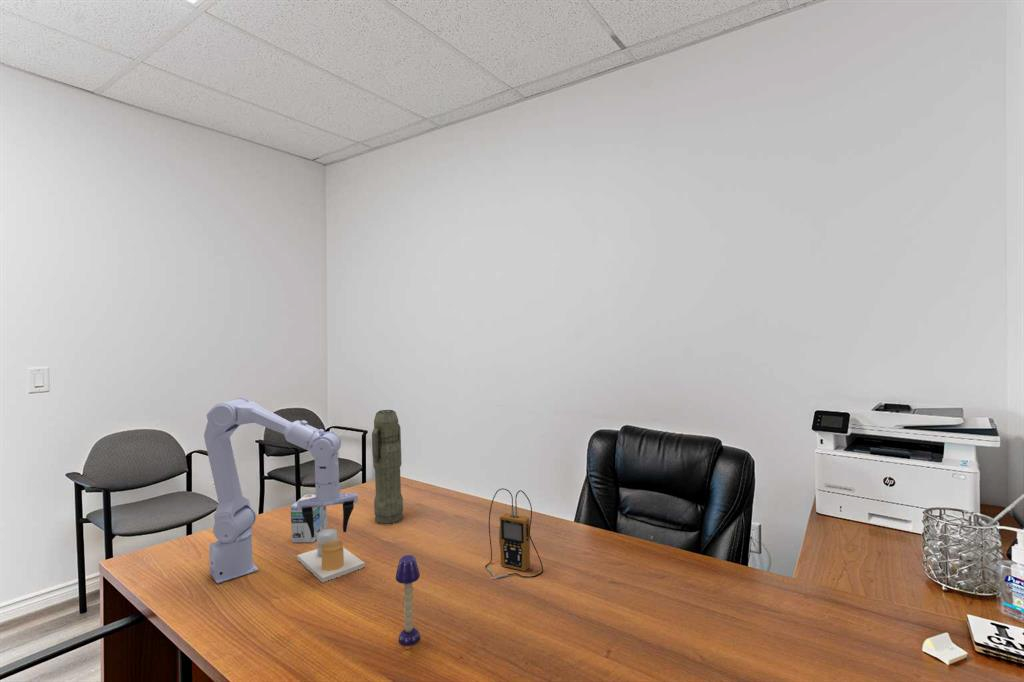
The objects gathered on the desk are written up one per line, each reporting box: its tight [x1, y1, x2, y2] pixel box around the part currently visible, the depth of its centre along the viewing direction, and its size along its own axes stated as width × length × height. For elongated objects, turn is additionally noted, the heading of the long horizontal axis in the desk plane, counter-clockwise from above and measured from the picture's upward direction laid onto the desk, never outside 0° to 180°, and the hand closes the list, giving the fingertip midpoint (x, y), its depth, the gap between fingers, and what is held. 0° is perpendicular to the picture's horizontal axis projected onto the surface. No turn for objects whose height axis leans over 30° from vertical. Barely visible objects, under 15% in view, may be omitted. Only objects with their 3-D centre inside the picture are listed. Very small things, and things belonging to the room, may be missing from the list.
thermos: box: [371, 409, 404, 525], centre depth 163 cm, size 9×12×35 cm
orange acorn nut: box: [321, 539, 344, 571], centre depth 130 cm, size 5×5×6 cm
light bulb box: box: [289, 494, 328, 543], centre depth 152 cm, size 11×7×11 cm, turn 179°
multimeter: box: [485, 488, 544, 580], centre depth 126 cm, size 15×10×20 cm
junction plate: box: [296, 528, 366, 583], centre depth 134 cm, size 11×17×7 cm, turn 42°
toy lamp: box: [395, 554, 421, 647], centre depth 101 cm, size 5×5×17 cm
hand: (328, 533), depth 130 cm, fingers open, 7 cm apart
